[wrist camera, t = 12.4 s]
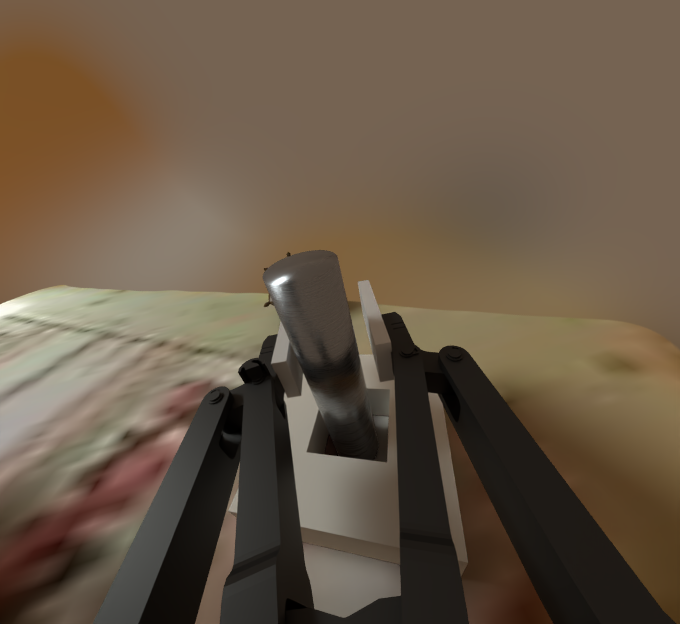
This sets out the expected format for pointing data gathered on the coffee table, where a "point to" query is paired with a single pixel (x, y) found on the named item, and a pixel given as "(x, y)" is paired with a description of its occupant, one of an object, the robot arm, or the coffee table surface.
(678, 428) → the coffee table surface
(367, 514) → the socket block
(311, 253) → the pin
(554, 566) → the robot arm
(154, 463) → the coffee table surface
